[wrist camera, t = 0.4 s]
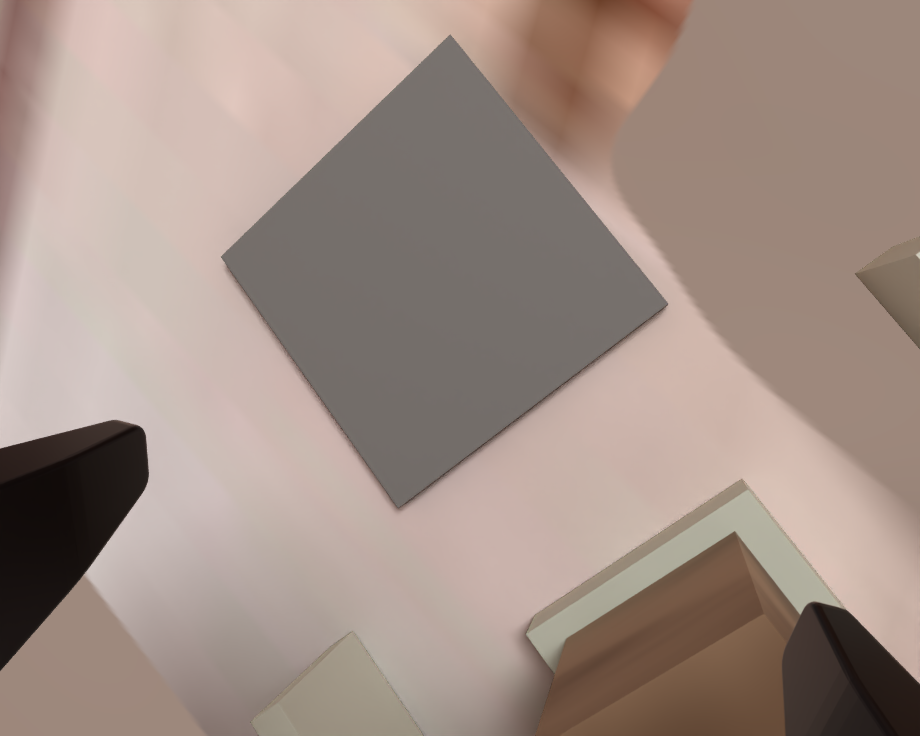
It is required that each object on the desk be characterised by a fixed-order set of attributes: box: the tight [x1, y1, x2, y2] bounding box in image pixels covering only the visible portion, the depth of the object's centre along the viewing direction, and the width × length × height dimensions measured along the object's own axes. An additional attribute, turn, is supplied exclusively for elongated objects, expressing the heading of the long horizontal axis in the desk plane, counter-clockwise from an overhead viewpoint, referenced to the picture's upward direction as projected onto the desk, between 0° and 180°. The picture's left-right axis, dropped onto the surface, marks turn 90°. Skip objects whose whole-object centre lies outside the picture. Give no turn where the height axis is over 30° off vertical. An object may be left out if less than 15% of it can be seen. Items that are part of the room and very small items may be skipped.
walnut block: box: [535, 531, 800, 736], centre depth 17 cm, size 4×6×6 cm
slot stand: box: [250, 237, 920, 736], centre depth 19 cm, size 12×22×5 cm, turn 128°
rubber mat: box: [221, 35, 668, 508], centre depth 23 cm, size 11×11×1 cm
